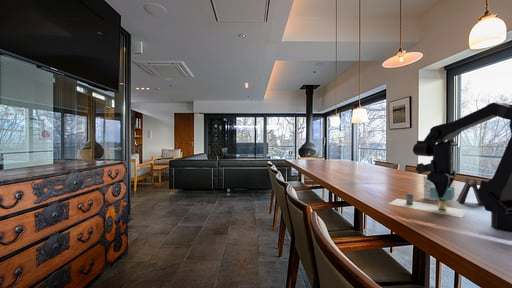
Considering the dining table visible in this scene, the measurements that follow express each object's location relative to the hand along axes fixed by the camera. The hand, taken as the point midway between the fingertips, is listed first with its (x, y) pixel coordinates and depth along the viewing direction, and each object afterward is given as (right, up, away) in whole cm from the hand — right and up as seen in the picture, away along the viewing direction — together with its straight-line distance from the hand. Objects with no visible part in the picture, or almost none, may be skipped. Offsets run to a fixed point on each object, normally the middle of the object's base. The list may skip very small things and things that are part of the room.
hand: (442, 196), depth 87 cm
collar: (0, -1, 0) cm, 0 cm away
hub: (0, -6, 0) cm, 6 cm away
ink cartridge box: (+11, -6, +17) cm, 21 cm away
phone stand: (+20, -6, +9) cm, 23 cm away
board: (-3, -7, +4) cm, 9 cm away
